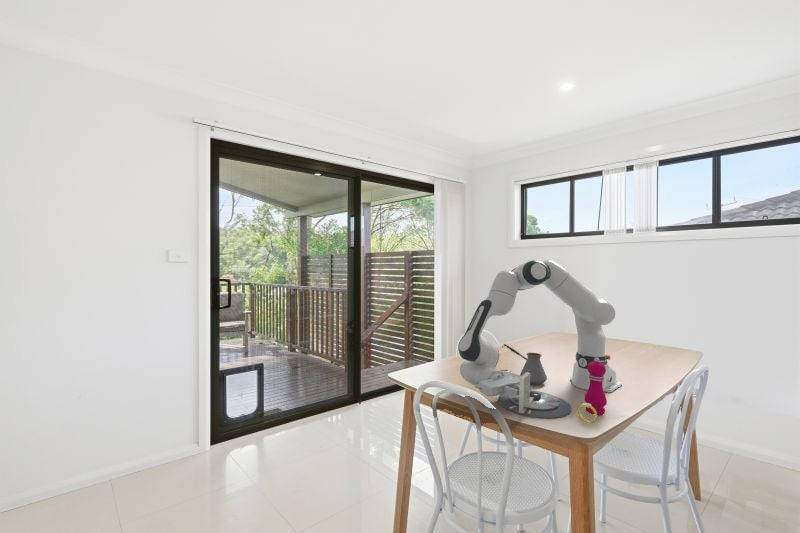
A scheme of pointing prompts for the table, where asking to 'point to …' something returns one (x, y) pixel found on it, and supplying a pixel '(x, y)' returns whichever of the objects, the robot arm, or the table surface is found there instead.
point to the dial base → (560, 412)
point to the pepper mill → (596, 387)
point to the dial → (532, 397)
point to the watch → (588, 407)
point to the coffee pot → (532, 367)
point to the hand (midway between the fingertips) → (520, 392)
